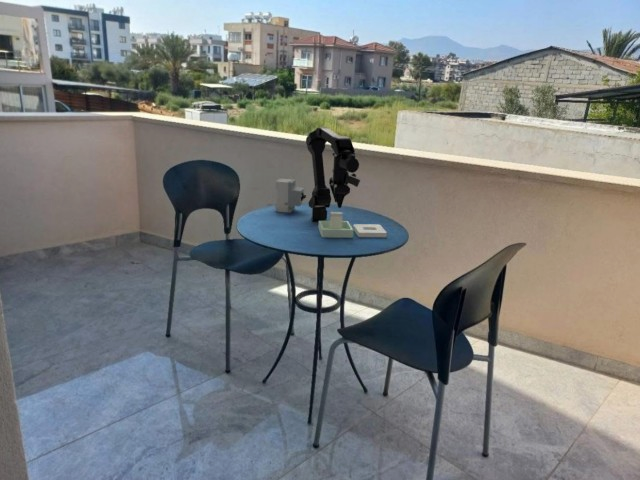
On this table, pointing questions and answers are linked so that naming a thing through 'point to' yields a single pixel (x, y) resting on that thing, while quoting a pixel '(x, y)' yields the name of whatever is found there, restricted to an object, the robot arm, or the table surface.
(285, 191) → the circuit breaker
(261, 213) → the table surface
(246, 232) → the table surface
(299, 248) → the table surface
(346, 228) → the parts tray
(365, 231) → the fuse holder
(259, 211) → the table surface
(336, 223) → the block
